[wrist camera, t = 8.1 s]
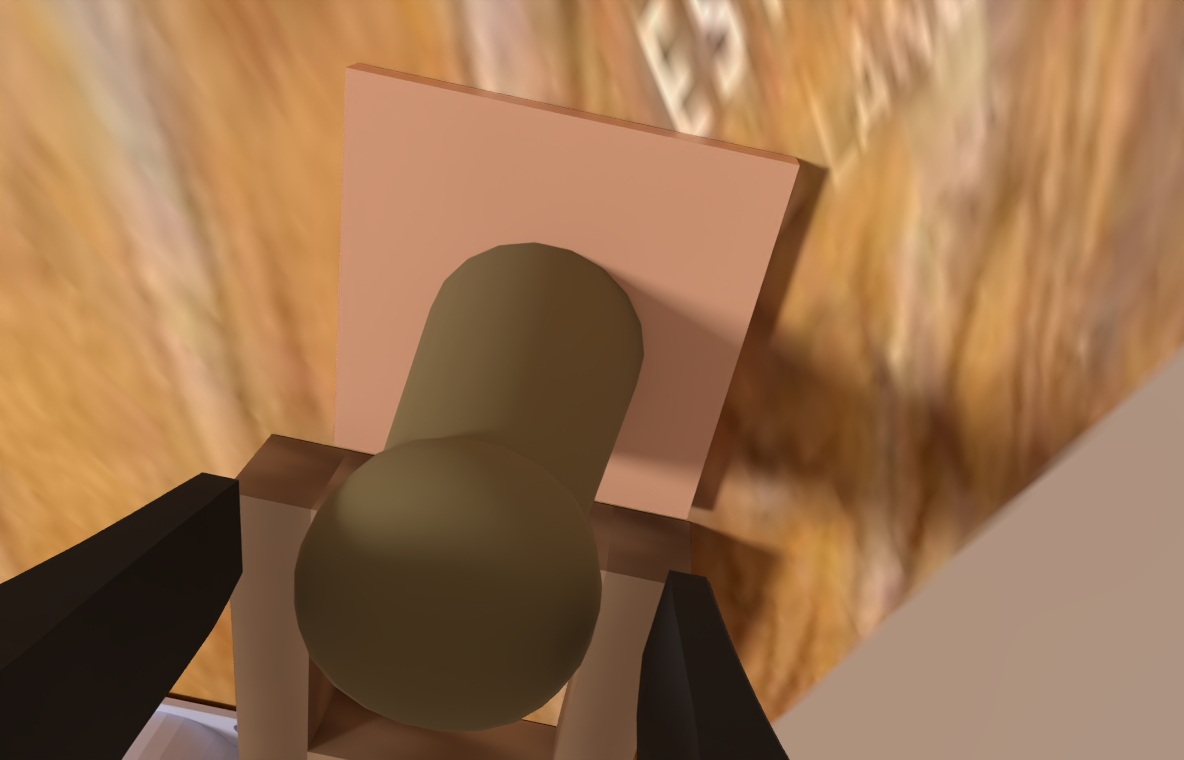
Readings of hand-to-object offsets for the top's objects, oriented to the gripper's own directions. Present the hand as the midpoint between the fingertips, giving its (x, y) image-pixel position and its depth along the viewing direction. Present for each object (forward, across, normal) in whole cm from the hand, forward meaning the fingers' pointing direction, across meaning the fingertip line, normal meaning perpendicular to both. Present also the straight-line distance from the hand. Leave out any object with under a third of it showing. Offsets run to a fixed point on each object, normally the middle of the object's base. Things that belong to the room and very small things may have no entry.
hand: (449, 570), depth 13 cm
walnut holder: (+10, +1, +13) cm, 17 cm away
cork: (+10, 0, +1) cm, 10 cm away
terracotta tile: (+10, 0, 0) cm, 10 cm away
